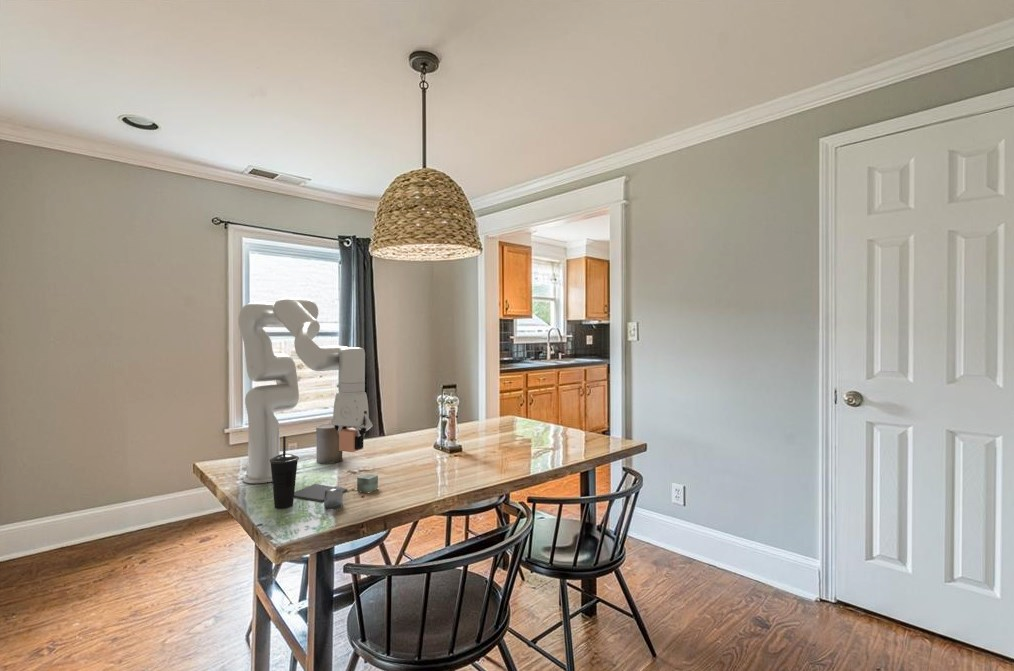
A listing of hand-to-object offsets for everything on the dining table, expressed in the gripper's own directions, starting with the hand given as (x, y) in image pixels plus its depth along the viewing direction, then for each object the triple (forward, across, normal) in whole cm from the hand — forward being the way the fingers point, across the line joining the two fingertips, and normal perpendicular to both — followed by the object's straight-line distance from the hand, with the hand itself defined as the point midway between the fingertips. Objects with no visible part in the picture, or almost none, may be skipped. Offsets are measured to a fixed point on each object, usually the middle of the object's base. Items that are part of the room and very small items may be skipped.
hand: (351, 447), depth 147 cm
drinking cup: (+16, -13, -13) cm, 24 cm away
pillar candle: (+16, -36, +31) cm, 50 cm away
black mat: (+15, -12, -1) cm, 19 cm away
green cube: (+15, 0, +8) cm, 17 cm away
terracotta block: (+1, 0, 0) cm, 1 cm away
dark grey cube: (+15, 0, -8) cm, 17 cm away
